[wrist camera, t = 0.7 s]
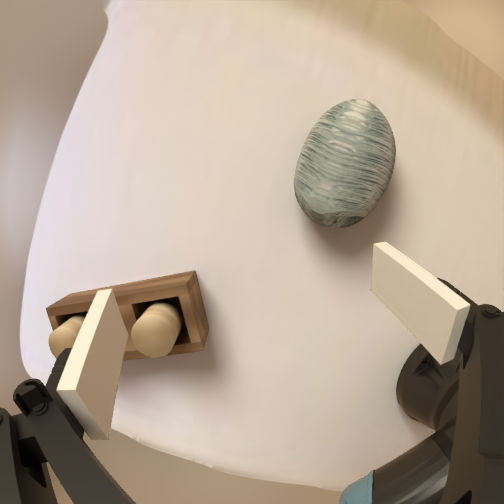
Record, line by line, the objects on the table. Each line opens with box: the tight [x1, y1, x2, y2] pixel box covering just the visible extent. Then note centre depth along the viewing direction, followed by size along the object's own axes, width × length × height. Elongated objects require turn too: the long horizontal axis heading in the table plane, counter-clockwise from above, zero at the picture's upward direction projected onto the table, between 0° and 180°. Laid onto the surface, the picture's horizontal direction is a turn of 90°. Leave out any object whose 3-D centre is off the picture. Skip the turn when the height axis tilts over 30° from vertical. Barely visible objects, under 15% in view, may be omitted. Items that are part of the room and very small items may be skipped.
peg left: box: [49, 313, 87, 359], centre depth 29 cm, size 4×4×5 cm
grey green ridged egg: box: [294, 99, 396, 228], centre depth 31 cm, size 14×10×10 cm
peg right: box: [131, 300, 183, 358], centre depth 29 cm, size 4×4×5 cm
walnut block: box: [46, 271, 209, 360], centre depth 33 cm, size 7×17×6 cm, turn 101°
